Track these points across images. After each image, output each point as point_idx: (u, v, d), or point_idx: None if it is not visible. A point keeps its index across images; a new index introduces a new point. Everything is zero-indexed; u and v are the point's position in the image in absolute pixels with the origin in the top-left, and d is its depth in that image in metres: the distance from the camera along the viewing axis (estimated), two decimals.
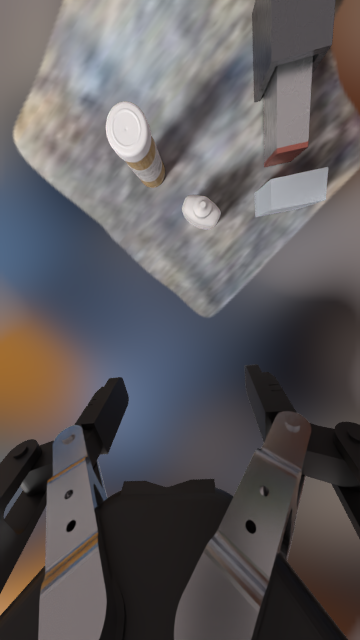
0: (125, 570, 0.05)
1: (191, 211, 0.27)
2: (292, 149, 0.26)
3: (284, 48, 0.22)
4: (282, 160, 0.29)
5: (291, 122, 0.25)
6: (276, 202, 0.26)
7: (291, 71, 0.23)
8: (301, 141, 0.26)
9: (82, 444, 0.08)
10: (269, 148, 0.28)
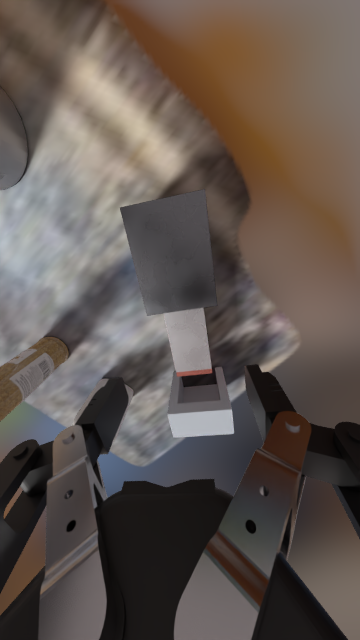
0: (125, 570, 0.05)
1: None
2: (194, 374, 0.22)
3: (160, 305, 0.17)
4: None
5: (188, 352, 0.21)
6: (177, 432, 0.22)
7: None
8: (203, 368, 0.21)
9: (82, 444, 0.08)
10: None
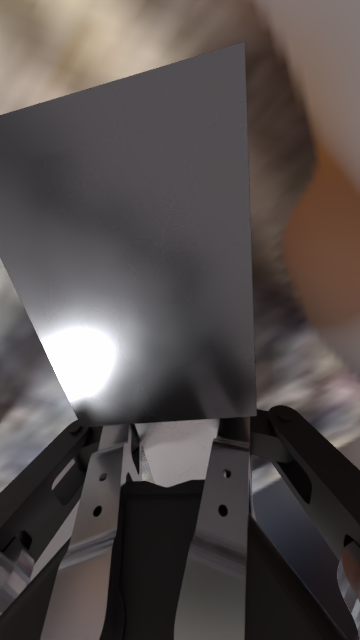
0: (134, 587, 0.04)
1: None
2: None
3: (110, 408, 0.07)
4: None
5: (184, 471, 0.10)
6: None
7: None
8: None
9: (126, 428, 0.09)
10: None
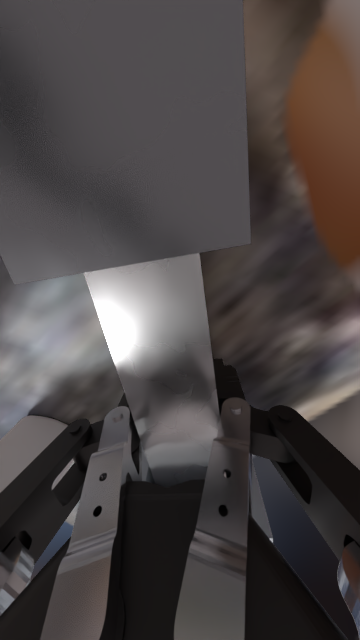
0: (134, 587, 0.04)
1: None
2: None
3: (47, 245, 0.05)
4: None
5: (184, 471, 0.10)
6: None
7: (162, 400, 0.09)
8: None
9: (126, 428, 0.09)
10: None
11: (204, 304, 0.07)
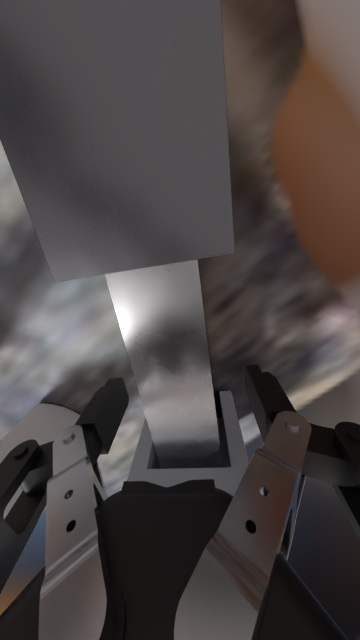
0: (125, 570, 0.05)
1: None
2: None
3: (83, 253, 0.07)
4: None
5: (183, 446, 0.12)
6: None
7: (166, 381, 0.10)
8: None
9: (82, 444, 0.08)
10: None
11: (201, 300, 0.08)
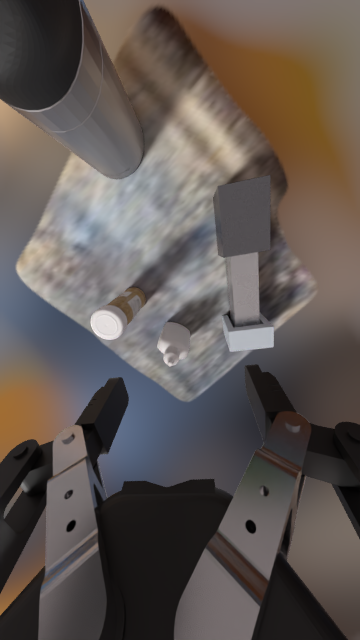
0: (125, 570, 0.05)
1: (164, 352, 0.33)
2: None
3: (233, 250, 0.27)
4: None
5: (246, 320, 0.33)
6: (233, 347, 0.32)
7: (243, 292, 0.31)
8: None
9: (82, 444, 0.08)
10: (232, 322, 0.36)
11: (257, 263, 0.29)
